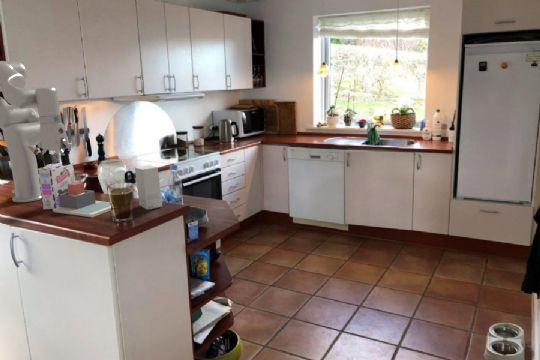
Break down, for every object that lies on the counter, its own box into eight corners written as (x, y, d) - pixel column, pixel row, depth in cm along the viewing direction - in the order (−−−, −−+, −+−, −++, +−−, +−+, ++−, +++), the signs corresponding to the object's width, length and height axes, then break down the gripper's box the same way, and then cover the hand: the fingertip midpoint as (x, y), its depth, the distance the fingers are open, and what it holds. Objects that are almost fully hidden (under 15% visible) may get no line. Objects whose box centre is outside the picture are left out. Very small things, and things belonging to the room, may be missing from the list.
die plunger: (66, 204, 177) (63, 184, 175) (78, 200, 182) (76, 181, 180) (77, 206, 174) (74, 185, 172) (89, 202, 179) (87, 182, 178)
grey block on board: (53, 211, 174) (51, 196, 173) (84, 201, 187) (82, 187, 186) (92, 217, 165) (90, 201, 164) (121, 206, 179) (120, 191, 177)
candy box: (55, 210, 175) (49, 168, 172) (42, 210, 177) (36, 168, 173) (78, 201, 188) (73, 161, 185) (66, 200, 190) (61, 161, 186)
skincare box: (162, 207, 175) (159, 167, 172) (145, 210, 172) (141, 169, 168) (154, 202, 182) (150, 164, 179) (138, 205, 178) (134, 166, 175)
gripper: (74, 119, 174) (81, 163, 178) (43, 119, 181) (50, 162, 185) (58, 121, 167) (65, 167, 171) (26, 121, 175) (33, 165, 179)
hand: (57, 164), depth 178 cm, fingers open, 9 cm apart
